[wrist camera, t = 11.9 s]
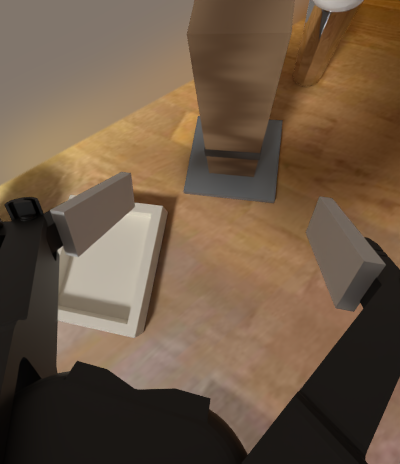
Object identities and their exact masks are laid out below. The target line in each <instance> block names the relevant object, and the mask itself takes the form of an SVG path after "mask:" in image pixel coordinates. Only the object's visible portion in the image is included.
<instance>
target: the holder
mask: <svg viewBox="0 0 400 464" xmlns="http://www.w3.org/2000/svg"><path fill="white" fill-rule="evenodd" d="M73 197H75V195H70V197H69V200H70V199H72V198H73ZM167 215H168V212H167V210H166V209H165V208H164V207H163V206H159V205H150V204H142V203H135V207H134V208H133V209H132V210H131V211H130V212H129V213H128V214H127V215H125V216H124V217H123V218H122V219H121V220H120V221H119V222H118V223H116V224H115V225H114V226H113V227H112V228H111V229H110V230H109V231H107V232H106V233H105V234H104V235H103V236H102V237H101V238H100V239H98V240H97V241H96V242H95V243H94V244H93V245H92V246H91V247H89V248H88V249H87V250H86V251H85V252H84V253H83V254H82V255H80V256H79V257H74V256H69V255H66V253H65V250H64V248H63V246H62V247H61V248H60V249H58V253H59V255H60V261H59V292H58V321H62V322H66V323H71V324H75V325H79V326H84V327H88V328H93V329H97V330H102V331H106V332H110V333H115V334H119V335H124V336H128V337H133V338H135V337H137V336H139V335H140V334H142V333H143V332H144V327H145V322H146V317H147V312H148V307H149V303H150V298H151V293H152V288H153V283H154V278H155V273H156V268H157V264H158V259H159V254H160V249H161V244H162V239H163V234H164V230H165V225H166V220H167Z"/></svg>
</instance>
